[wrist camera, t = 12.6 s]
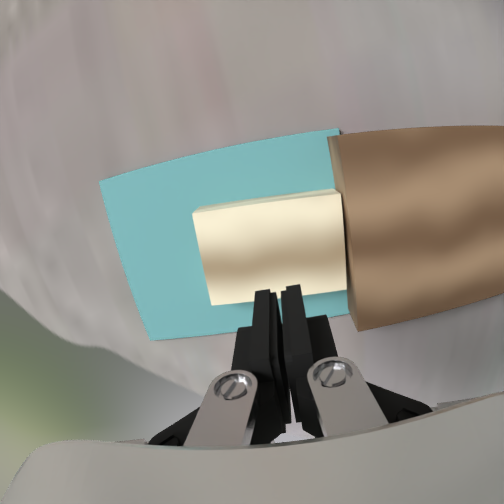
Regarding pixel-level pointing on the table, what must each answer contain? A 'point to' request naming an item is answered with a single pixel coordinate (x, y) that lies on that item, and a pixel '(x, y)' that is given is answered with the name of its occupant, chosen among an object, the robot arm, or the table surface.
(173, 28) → the table surface
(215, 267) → the birch tile
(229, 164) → the teal mat
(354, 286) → the walnut deck
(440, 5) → the table surface
